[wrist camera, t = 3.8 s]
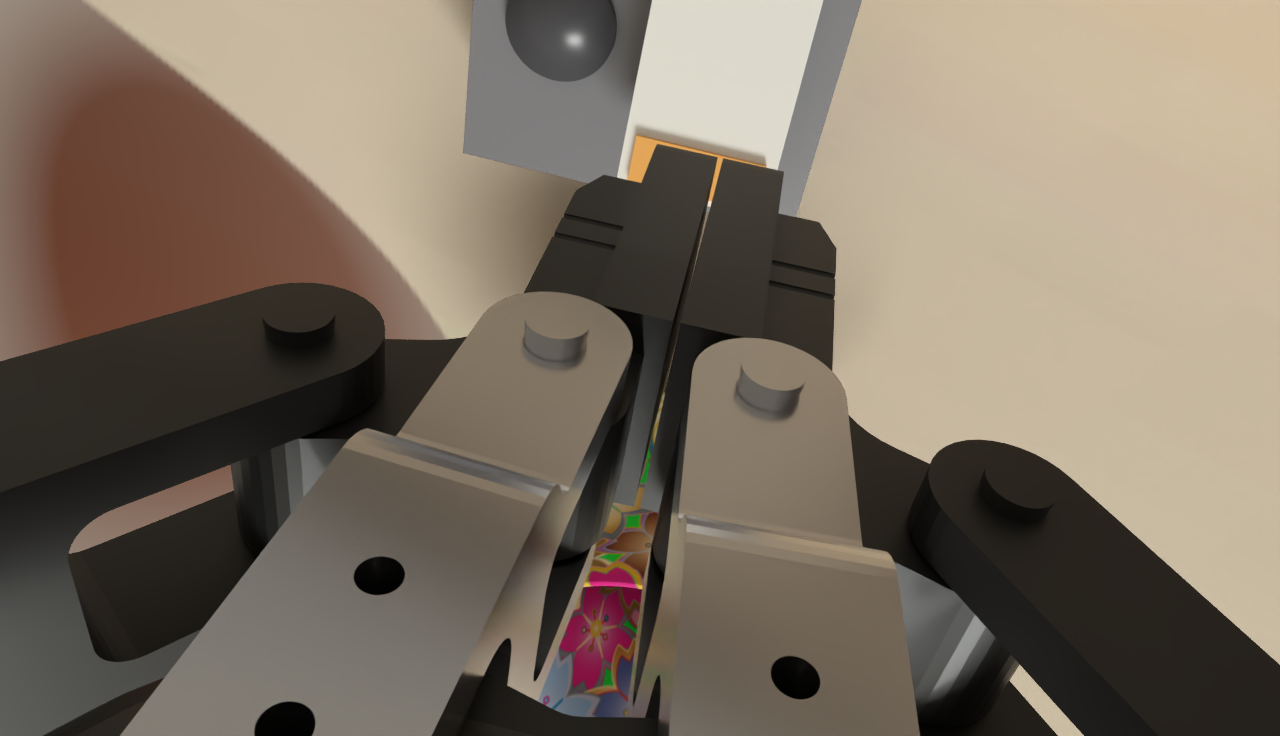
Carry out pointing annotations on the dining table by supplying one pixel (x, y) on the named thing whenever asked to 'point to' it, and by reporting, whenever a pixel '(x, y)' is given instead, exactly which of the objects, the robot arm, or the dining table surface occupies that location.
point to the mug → (605, 616)
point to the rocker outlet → (718, 80)
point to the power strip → (605, 86)
